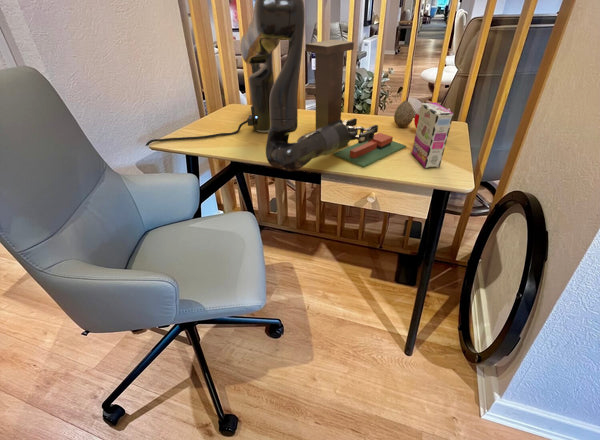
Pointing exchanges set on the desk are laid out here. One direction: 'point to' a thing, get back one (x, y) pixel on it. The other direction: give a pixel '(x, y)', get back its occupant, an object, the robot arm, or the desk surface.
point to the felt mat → (369, 153)
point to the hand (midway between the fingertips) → (366, 124)
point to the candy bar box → (431, 134)
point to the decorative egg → (404, 114)
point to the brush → (372, 145)
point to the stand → (328, 78)
